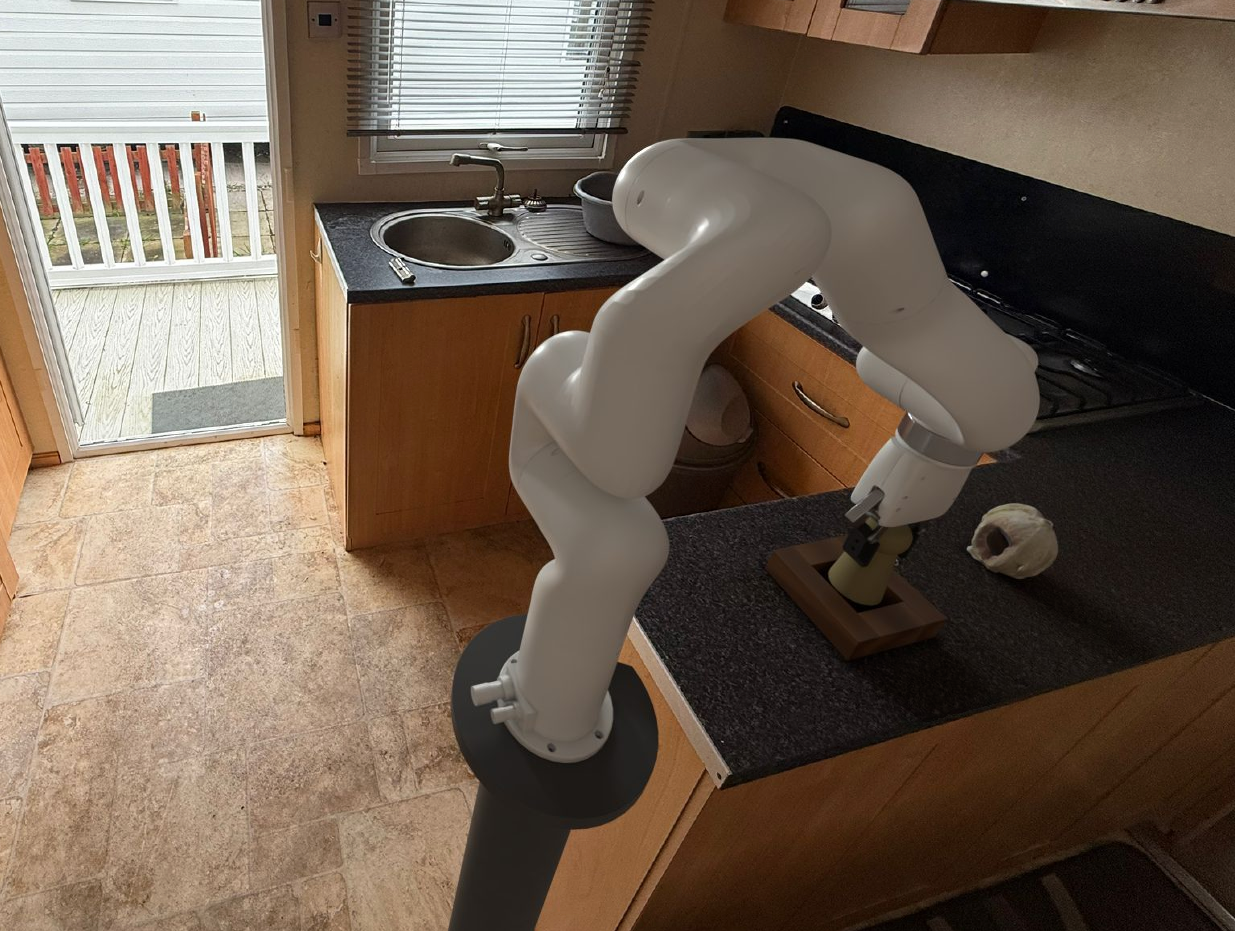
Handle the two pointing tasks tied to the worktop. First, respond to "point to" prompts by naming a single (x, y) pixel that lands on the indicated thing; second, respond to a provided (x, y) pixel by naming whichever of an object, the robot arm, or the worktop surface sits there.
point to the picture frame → (846, 629)
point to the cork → (870, 567)
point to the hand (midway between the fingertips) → (873, 552)
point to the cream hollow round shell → (1015, 541)
